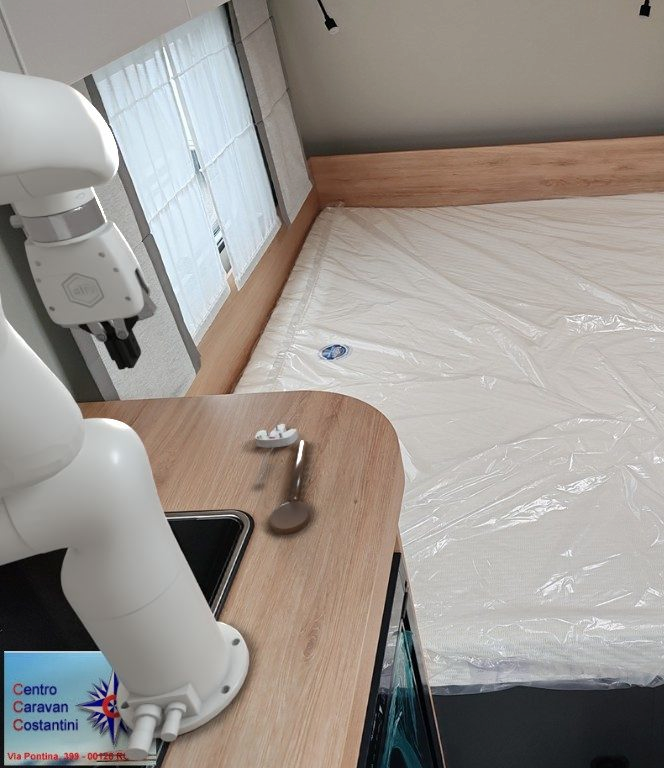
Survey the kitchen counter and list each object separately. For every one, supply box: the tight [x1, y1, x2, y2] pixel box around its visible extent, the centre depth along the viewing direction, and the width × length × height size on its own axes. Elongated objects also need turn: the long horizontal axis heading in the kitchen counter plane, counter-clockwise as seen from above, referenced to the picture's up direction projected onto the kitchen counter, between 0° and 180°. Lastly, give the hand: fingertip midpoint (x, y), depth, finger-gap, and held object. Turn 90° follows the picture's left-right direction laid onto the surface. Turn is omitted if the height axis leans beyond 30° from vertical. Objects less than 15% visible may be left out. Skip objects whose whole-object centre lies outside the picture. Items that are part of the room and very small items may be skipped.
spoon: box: [270, 439, 312, 535], centre depth 98 cm, size 17×5×1 cm, turn 7°
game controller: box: [254, 423, 299, 488], centre depth 104 cm, size 6×12×3 cm, turn 16°
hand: (130, 362), depth 91 cm, fingers closed
